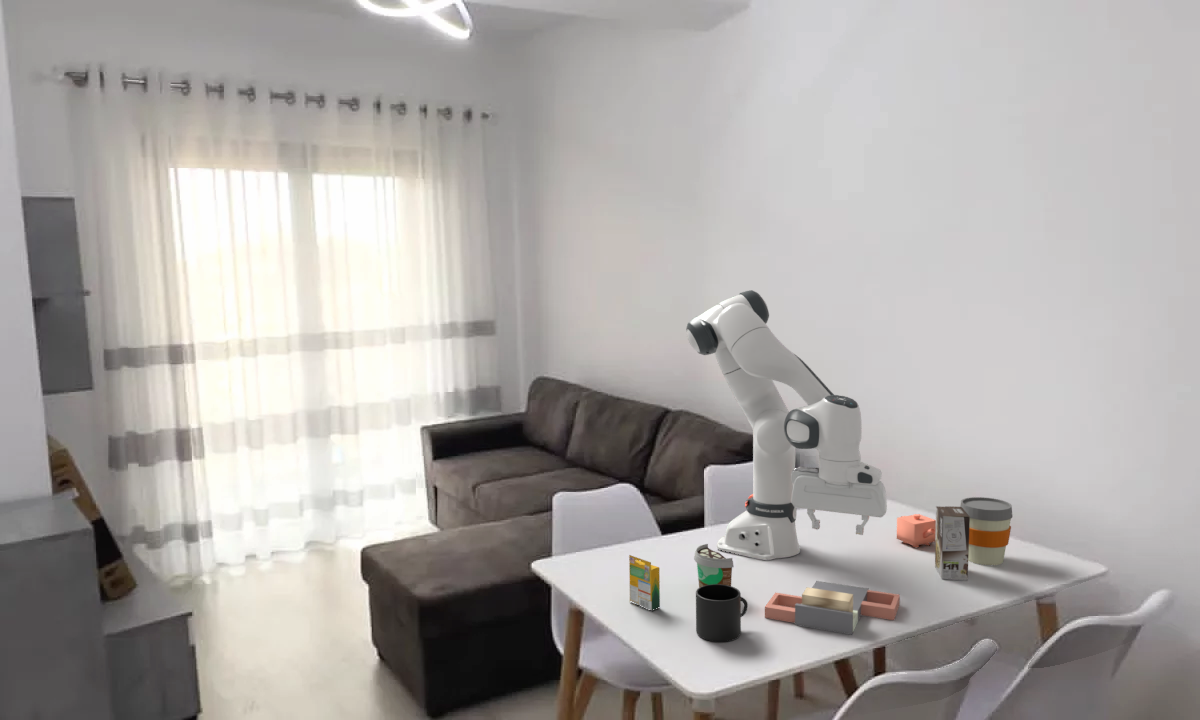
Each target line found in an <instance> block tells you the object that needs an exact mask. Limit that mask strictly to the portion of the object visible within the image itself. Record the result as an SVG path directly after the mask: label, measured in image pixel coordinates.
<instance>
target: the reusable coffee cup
mask: <svg viewBox="0 0 1200 720" xmlns="http://www.w3.org/2000/svg"><path fill="white" fill-rule="evenodd" d="M959 505H960V506H959V507H962V508H963V509H964V510H965V512H966V513H967V514H968V515H969V516H970V528H969V555H968V562H970V563H972V562H973V564H976V565H980V564H981V566H988V565H990V566H991V565H994V566H999V565H1002V564H1003V563H1004V560H1005V559H1004V558H1005V553H1006V548H1007V547H1008V545H1009V541H1010V536H1011V532H1012V531H1011V530H1012V526H1011V519H1012V518H1013V505H1012V504H1011V503H1010V502H1008V501H1005V500H1002V499H997V498H994V497H993V498H992V497H982V496H981V497H980V496H975V497H974V496H973V497H966V498H962V499H961V500H960V504H959Z"/></svg>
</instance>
